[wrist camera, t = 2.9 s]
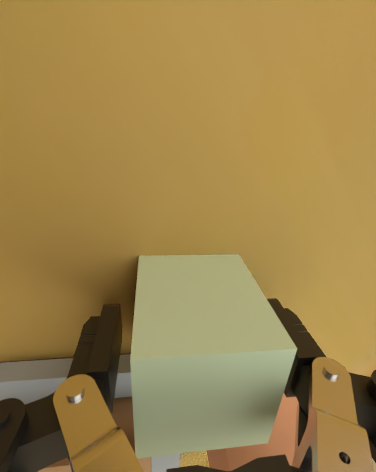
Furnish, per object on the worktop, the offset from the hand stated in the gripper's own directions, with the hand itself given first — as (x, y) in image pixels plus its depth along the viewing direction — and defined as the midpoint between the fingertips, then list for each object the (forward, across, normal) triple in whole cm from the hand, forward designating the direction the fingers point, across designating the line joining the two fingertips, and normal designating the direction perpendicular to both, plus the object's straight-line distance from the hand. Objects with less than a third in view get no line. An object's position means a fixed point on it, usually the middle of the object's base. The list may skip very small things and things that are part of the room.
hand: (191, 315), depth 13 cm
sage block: (+1, 0, 0) cm, 1 cm away
